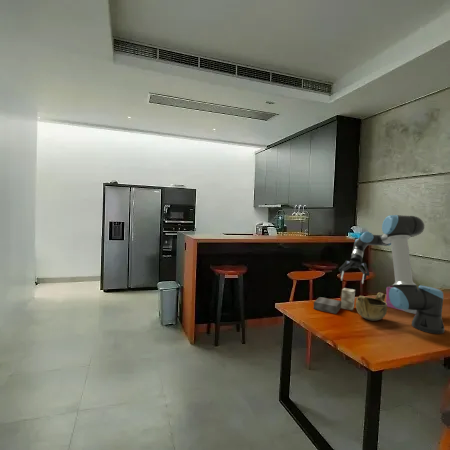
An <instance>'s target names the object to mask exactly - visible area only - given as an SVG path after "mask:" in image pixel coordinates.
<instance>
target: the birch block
mask: <svg viewBox="0 0 450 450" xmlns="http://www.w3.org/2000/svg"><path fill="white" fill-rule="evenodd" d="M355 295H356V289H353V288H347V287H344V288H342V289H341V299H340V301H341V308H340V309H343V310H349V311H353V310H354V308H355V298H356V296H355Z"/></svg>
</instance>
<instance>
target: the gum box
mask: <svg viewBox="0 0 450 450" xmlns="http://www.w3.org/2000/svg"><path fill="white" fill-rule="evenodd" d="M391 288H393V284H392V285H389V286H386V289H385V290H386V294H385V299H386V300H385V302H386V303H387V308H392V309H395V310H399V311H403V312H406V313H410V314H414V315H415V314H416V312H417V310H403V309H397V308H395V307H394V306H393V305H392V303H391V301H390V298H389V292H390V289H391Z"/></svg>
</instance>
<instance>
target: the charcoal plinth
mask: <svg viewBox="0 0 450 450" xmlns="http://www.w3.org/2000/svg"><path fill="white" fill-rule="evenodd" d="M341 309H342V308H341V300H337V299H332V298H327V297H321V296H319V297H318V298H317V299H315V300H314V301H313V310H316V311H321V312H326V313H331V314H334V315H337V313H338V312H339V311H340V310H341Z"/></svg>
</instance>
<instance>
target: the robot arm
mask: <svg viewBox="0 0 450 450" xmlns="http://www.w3.org/2000/svg"><path fill="white" fill-rule="evenodd" d="M424 230H425V223H424V221H423V220H422V219H421V218H420V217H418V216H416V215H415V216H414V215H402V214H401V215H400V214H391V215H390V214H389V215H388V216H386V217H385V218H384V220H383V222H382V224H381V231H382V234H373V233H372V232H369V231H364V232H363V233H362V234H361V235H360V236H359V237H358V238H356V239H355V240H354V243H353V248H352V253H351V257H350V260H347V259H346V260H345V262H344V263H343V264H342V265H340V266H339V268H338V272H340V273H339V275H340V281H343V280H344V279H343V278H344V274H345V272H346V271H348V270H350V269H351V268H353V269H359V270H360V272H362V279H361V285H364V283H365V282H364V281H365V280H367V276H368V277H369V276H370V274H371V273H370V271H369V269H368V267H367V262H363V257H364V253H365V249H366V248H367V247H368V246H382V247H383V246H384V247H387V246H389V247H391V255H392V264H393V273H394V274H393V275H394V283H393V284H392V286H393V288H391V289H390V292H389V298H390V301H391V303H392V305H393V306H394V307H395V308H397V309H396V310H398V309H403V310H417V312H416V314H414V316H413V319H412V320H411V326H412V327H413V329H416V330H419V331H422V332H425V333H430V334H435V335H436V334H437V335H438V334H439V335H440V334H441V335H442V334H444V333H445V325H444V322H443V319H442V318H443V317H442V316H443V305H444V292H443V291H442V290H440V289H438V288H436V287H432V286H426V285H419V286H418V285H417V284H416V283H415V282H414V281H413V280H414V279H413V272H412V271H413V270H412V264H411V257H410V256H411V255H410V248H409V241H408V240H409V239H410V238H412V237H413V238H414V237H417V236H419V235H421V234H423V231H424ZM362 266H363V267H362ZM363 268H364V269H363ZM395 308H394V309H395Z"/></svg>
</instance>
